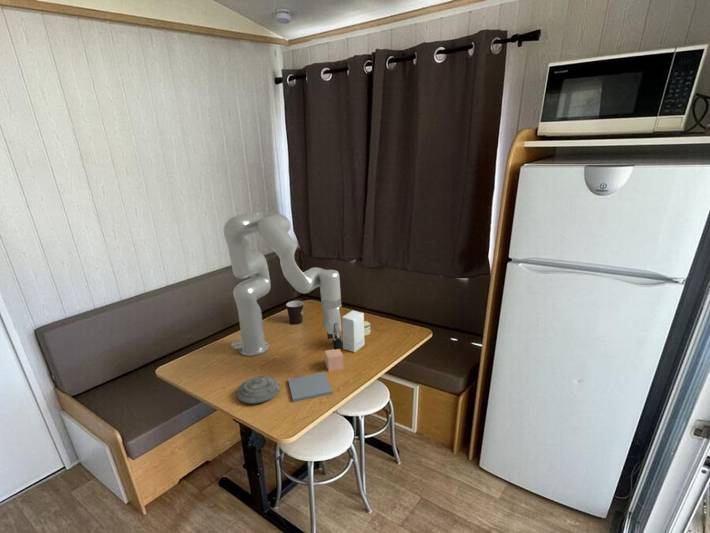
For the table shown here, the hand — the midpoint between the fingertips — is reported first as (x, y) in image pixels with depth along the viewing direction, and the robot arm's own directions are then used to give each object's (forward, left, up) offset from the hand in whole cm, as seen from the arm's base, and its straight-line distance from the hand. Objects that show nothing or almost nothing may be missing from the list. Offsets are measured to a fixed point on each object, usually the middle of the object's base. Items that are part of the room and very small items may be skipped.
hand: (334, 343), depth 147 cm
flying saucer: (-30, -8, -11) cm, 33 cm away
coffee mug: (-7, +49, -11) cm, 51 cm away
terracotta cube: (0, 0, -10) cm, 10 cm away
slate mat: (-12, -11, -10) cm, 19 cm away
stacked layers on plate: (+19, +23, -11) cm, 32 cm away
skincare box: (+12, +12, -11) cm, 20 cm away
